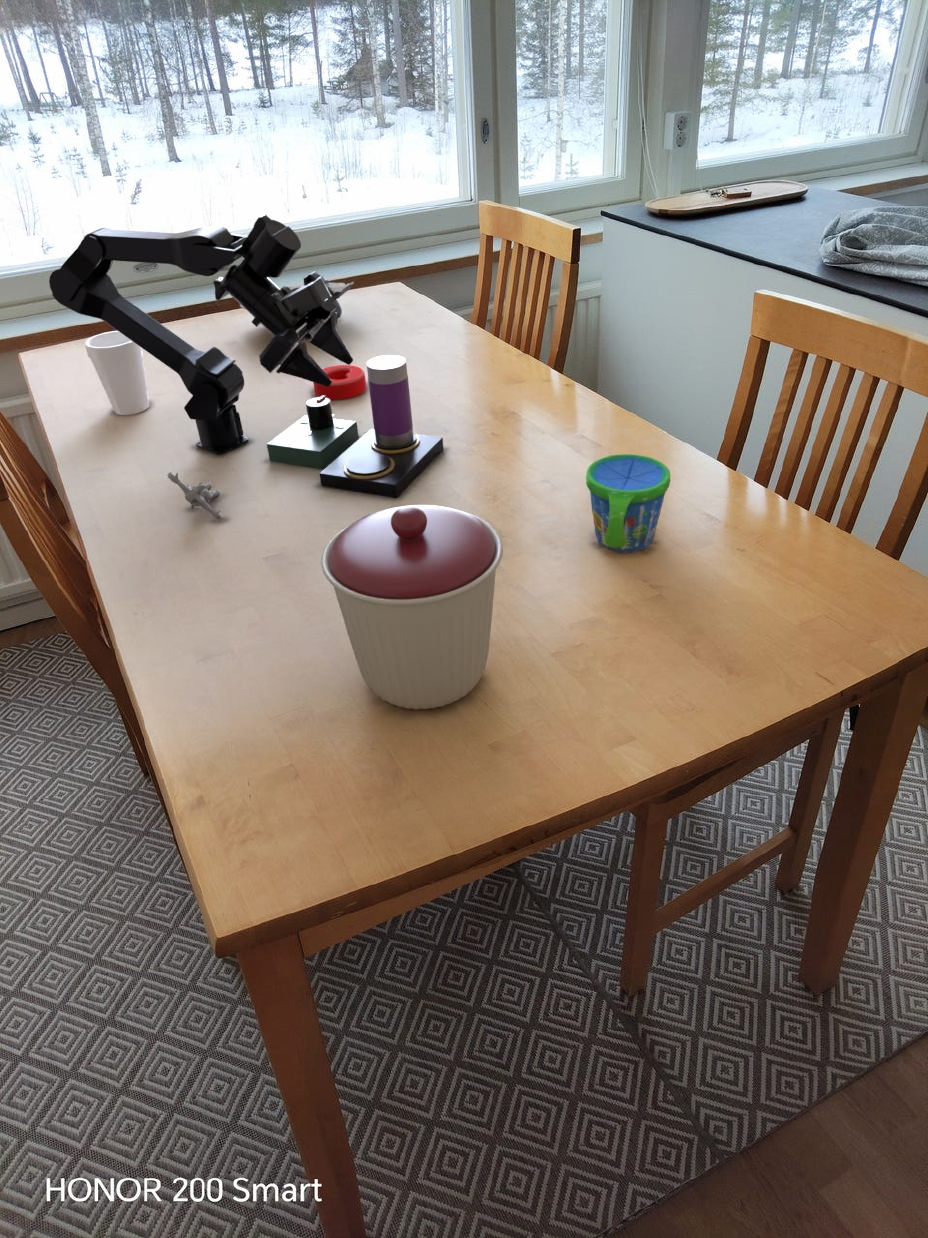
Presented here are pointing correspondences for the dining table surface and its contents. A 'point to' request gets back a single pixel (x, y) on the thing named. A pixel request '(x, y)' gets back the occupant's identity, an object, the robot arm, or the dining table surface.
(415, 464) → the hob
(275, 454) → the control box
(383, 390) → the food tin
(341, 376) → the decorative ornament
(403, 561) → the canister
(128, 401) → the foam cup
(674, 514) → the dining table surface
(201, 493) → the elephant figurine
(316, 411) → the hob knob
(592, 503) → the snack cup
